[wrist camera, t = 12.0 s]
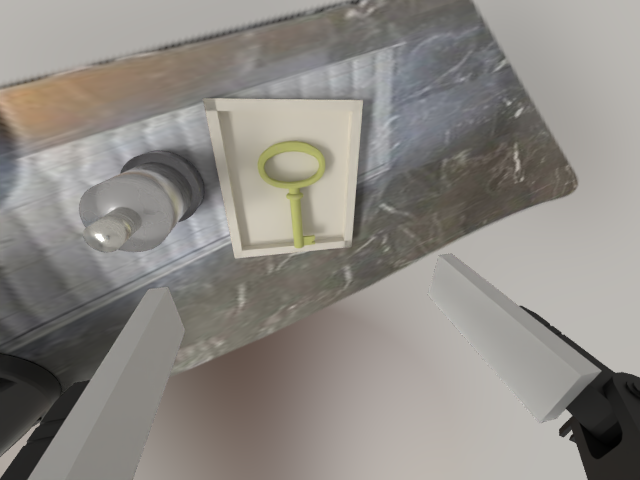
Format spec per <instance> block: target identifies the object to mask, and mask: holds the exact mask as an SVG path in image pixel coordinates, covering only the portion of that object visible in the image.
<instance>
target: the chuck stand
mask: <svg viewBox="0 0 640 480" xmlns="http://www.w3.org/2000/svg"><path fill="white" fill-rule="evenodd" d="M203 196H204V184H203V181H202V178H201V176H200V174H199V172H198V171H197V170H196V168H195V167H194V166H193V165H192V164H191V163H190V162H188V161H187V160H186V159H184V158H183V157H181V156H179V155H177V154H174V153H171V152H167V151H151V152H147V153H145V154H142V155H140V156H137V157H134V158H133V159H131V160H130V161H128V162H127V163H126V164H125V165H124V167H123V169H122V170H121V173H120V174H119V175H117V176H115V177H113V178H110V179H108V180H106V181H104V182H102V183H100V184H97V185H95V186H93V187H92V188H90V189H89V190H87V191H86V192H85V193H84V195H83V196H82V198H81V200H80V204H79V213H80V217H81V219H82V222H83V224H84V225H85V227H86V229H85V230H84V232H83V237H84V240H85V242H86V243H87V244H88V245H89V246H90V247H92V248H93V249H95V250H98V251H101V252H113V251H116V250H117V249H119V250H123V251H129V252H141V251H147V250H150V249H153V248H155V247H157V246H158V245H160V244H161V243H162V242H163V241H164V240H165V238H166V237H167V236H168V234H169V233H170V232H171V230H172V229H173V228H174V226H175V225H176V224H177V222H180V221H183V220H185V219H187V218H189V217H190V216H191V215H192V214H193V213H194V212H195V211H196V209H197V208H198V206H199V205H200V203H201V202H202V200H203Z"/></svg>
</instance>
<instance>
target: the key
mask: <svg viewBox="0 0 640 480" xmlns="http://www.w3.org/2000/svg"><path fill="white" fill-rule="evenodd" d="M295 151H296V152H303V153H307V154H309V155H312V156H313V157H315V158H316V159H317V160H318V162H319V168H318V171H317V172H316V173H315V175H313V176H311V177H310V178H307V179H305V180H301V181H294V182H285V181H278V180H275V179H273V178H270V177H269V176H268V175H267V174H266V171H265V168H264V167H265V163H266V162H267V160H269V159H270V158H272V157H273V156H275V155H277V154H280V153H284V152H295ZM257 165H258V172H259V174H260V176H261V178H262V179H263V180H264V181H265V182H266V183H267V184H270V185H272V186H274V187H278V188H285V189H289V193H288V194H287V195H286V198H287V199H290V206H291V217H292V228H293V238H294V247H295V248H302V247H304V246H305V245H313V244H315V241H314V239H315V235H309V236H303V228H302V215H301V201H300V199H301V198H303V193H301V192H300V188H302V187H306V186H309V185H312V184H314V183H315V182H317V181H318V180H320V178H321V177H322V176H323V174H324V172H325V158H324V156H323V154H322V153H321V152H320V150H318V149H317V148H316V147H314V146H312V145H310V144H308V143H305V142H299V141H286V142H281V143H277V144H274V145H272V146H270V147H269V148H267V149H266V150H265V151H264V152H263V153H262V154H261V155H260V157H259V159H258V163H257Z"/></svg>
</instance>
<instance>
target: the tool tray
mask: <svg viewBox="0 0 640 480" xmlns="http://www.w3.org/2000/svg"><path fill="white" fill-rule="evenodd" d="M203 102H204V107H205V112H206V117H207V122H208V127H209V132H210V137H211V142H212V147H213V152H214V157H215V162H216V167H217V172H218V177H219V182H220V187H221V192H222V197H223V201H224V206H225V211H226V216H227V221H228V226H229V231H230V236H231V241H232V246H233V251H234V256H235V258H244V257H254V256H264V255H274V254H284V253H294V252H304V251H314V250H324V249H334V248H344V247H351V245H352V233H353V221H354V208H355V196H356V183H357V171H358V158H359V146H360V133H361V121H362V108H363V100H311V99H222V98H203ZM286 141H299V142H305V143H308V144H310V145H312V146H314V147H316V148H317V149H318V150H320V152H321V153H322V154H323V156H324V158H325V172H324V174H323V176H322V177H321V178H320V180H318V181H317V182H315V183H314V184H312V185H309V186H306V187H302V188H300V192H301V193H303V198H301V199H300V201H301V215H302V228H303V236H309V235H315V239H314V241H315V244H313V245H305V246H304V247H302V248H295V247H294V238H293V228H292V217H291V206H290V199H287V198H286V195H287V194H288V193H289V189H285V188H278V187H274V186H272V185H270V184H267V183H266V182H265V181H264V180H263V179H262V178H261V176H260V174H259V172H258V165H257V163H258V159H259V157H260V155H261V154H262V153H263V152H264V151H265V150H266V149H267V148H269V147H270V146H272V145H274V144H277V143H281V142H286ZM264 168H265V171H266V174H267V175H268V176H269V177H270V178H273V179H275V180H278V181H285V182H294V181H301V180H305V179H307V178H310V177H311V176H313V175H315V173H316V172H317V171H318V168H319V162H318V160H317V159H316V158H315V157H313V156H312V155H309V154H307V153H303V152H296V151H295V152H284V153H280V154H277V155H275V156H273V157H272V158H270V159H269V160H267V162H266V163H265V167H264Z"/></svg>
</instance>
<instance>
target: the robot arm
mask: <svg viewBox="0 0 640 480" xmlns="http://www.w3.org/2000/svg"><path fill="white" fill-rule="evenodd" d="M428 296H429V297H430V298H431V299H432V301H433V302H434V303H435V304H436V305H437V306H438V308H439V309H440V310H441V311H442V312H443V313H444V314H445V316H446V317H447V318H448V319H449V320H450V321H451V322H452V324H453V325H454V326H455V327H456V328H457V329H458V331H459V332H460V333H461V334H462V335H463V336H464V338H465V339H466V340H467V341H468V342H469V343H470V344H471V346H472V347H473V348H474V349H475V350H476V351H477V352H478V354H479V355H480V356H481V357H482V358H483V359H484V361H485V362H486V363H487V364H488V365H489V366H490V367H491V369H492V370H493V371H494V372H495V373H496V374H497V375H498V376H499V378H500V379H501V380H502V381H503V382H504V383H505V385H506V386H507V387H508V388H509V389H510V390H511V392H512V393H513V394H514V395H515V396H516V397H517V399H518V400H519V401H520V402H521V403H522V404H523V405H524V407H525V408H526V409H527V410H528V411H529V412H530V413H531V414H532V416H533V417H534V418H535V419H536V420H537V422H539V423H541V422H545V421H549V420H552V419H556V418H557V417H559V415H560V414H561V413H562V412H563V411H564V410H565V409H567V410H568V411H569V412H570V413H571V414H572V415H573V416H572V417H571V418H570V419H569V420H568V421H567V422H566V423H565V424H564V425H563V426H562V427H561V428H560V429H559V436H562V437H565V436H566V435H567V434H568V433H569V432H570V431H571V430H572V431H573V434H572V435H571V437H570V439H569V440H570V441H573V442H575V443H576V444H577V447H578V450H579V453H580V456H581V460H582V462H583V466H584V469H585V472H586V475H587V478H588V480H640V378H639V377H637V376H634V375H632V374H628V373H623V372H621V373H615V372H613V371H612V370H610V369H609V368H608V367H606V366H605V365H603V364H602V363H601V362H599V361H598V360H597V359H595V358H594V357H593V356H592V355H590V354H589V353H588V352H586V351H585V350H584V349H582V348H581V347H580V346H578V345H577V344H576V343H574V342H573V341H572V340H570V339H569V338H568V337H566V336H565V335H562V334H561V332H560V331H559V330H557V329H556V328H555V327H553V326H550V324H549V323H548V322H547V321H546V320H544V319H543V318H541V317H540V316H539V315H537V314H536V313H534V312H532V311H530V310H528V309H527V308H525V307H523V306H518V305H517V304H516V303H514V302H513V301H512V300H510V299H509V298H508V297H507V296H505V295H504V294H503V293H501V292H500V291H499V290H498V289H496V288H495V287H494V286H493V285H491V284H490V283H489V282H487V281H486V280H485V279H483V278H482V277H481V276H480V275H479V274H477V273H476V272H475V271H473V270H472V269H471V268H470V267H468V266H467V265H466V264H464V263H463V262H462V261H461V260H459V259H458V258H457V257H455V256H454V255H453V254H444V255H439V257H438V260H437V264H436V267H435V271H434V274H433V278H432V281H431V284H430V288H429V291H428ZM184 333H185V329H184V326H183V324H182V321H181V319H180V316H179V314H178V311H177V308H176V306H175V303H174V301H173V298H172V296H171V293H170V291H169V288H168V287H162V288H153V289H148V291H147V292H146V294H145V295H144V297H143V298H142V300H141V302H140V303H139V305H138V306H137V308H136V309H135V311H134V313H133V314H132V316H131V317H130V319H129V320H128V322H127V324H126V325H125V327H124V328H123V330H122V331H121V333H120V335H119V336H118V338H117V339H116V341H115V343H114V344H113V346H112V347H111V349H110V350H109V352H108V354H107V355H106V357H105V358H104V360H103V361H102V363H101V365H100V366H99V368H98V369H97V371H96V372H95V374H94V376H93V377H92V379H91V380H89V381H83V382H77V383H74V384H73V385H72V386H71V387H70V388H69V389H68V390H67V391H66V392H65V393H64V394H63V395H61V396H60V394H61V387H60V384H59V382H58V381H57V379H56V378H55V377H54V376H53V375H52V374H51V373H49V372H48V371H46V370H45V369H43V368H42V367H40V366H38V365H36V364H33V363H31V362H28V361H26V360H23V359H19V358H16V357H12V356H7V355H2V354H0V457H1V456H2V455H3V454H4V453H5V452H6V451H7V450H9V449H10V448H11V447H12V446H13V445H14V444H15V443H16V442H17V441H18V440H20V439H21V438H22V437H23V436H24V435H25V434H26V433H27V432H28V431H29V430H30V429H31V427H33V426H35V425H36V424H38V423H39V422H40V421H41V420H42V421H41V422H40V426H39V427H37V428H36V429H35V430H34V432H33V433H32V435H31V436H30V437H29V439H28V440H27V444H26V445H25V446H23V447H22V449H21V450H20V452H19V453H18V454H17V456H16V457H15V459H14V460H13V461H12V463H11V464H10V466H9V467H8V468H7V470H6V471H5V473H4V474H3V476H2V477H1V478H0V480H133V477H134V475H135V472H136V469H137V466H138V463H139V461H140V457H141V454H142V452H143V449H144V446H145V443H146V441H147V438H148V435H149V432H150V429H151V427H152V423H153V421H154V418H155V415H156V412H157V409H158V407H159V404H160V401H161V398H162V395H163V392H164V390H165V387H166V384H167V381H168V378H169V375H170V373H171V370H172V367H173V364H174V361H175V358H176V356H177V353H178V350H179V347H180V344H181V341H182V339H183V336H184Z"/></svg>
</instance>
